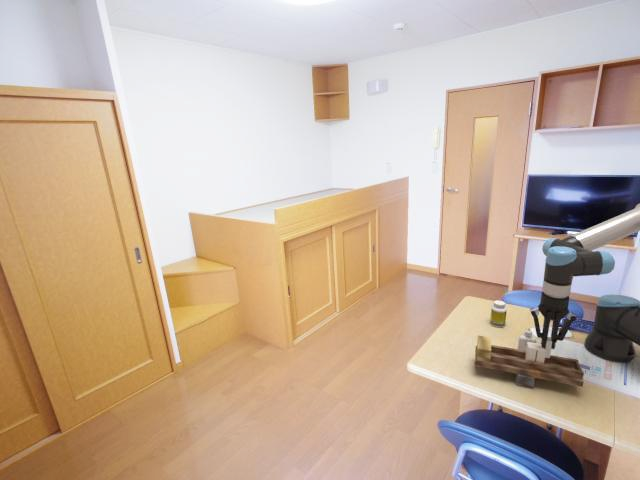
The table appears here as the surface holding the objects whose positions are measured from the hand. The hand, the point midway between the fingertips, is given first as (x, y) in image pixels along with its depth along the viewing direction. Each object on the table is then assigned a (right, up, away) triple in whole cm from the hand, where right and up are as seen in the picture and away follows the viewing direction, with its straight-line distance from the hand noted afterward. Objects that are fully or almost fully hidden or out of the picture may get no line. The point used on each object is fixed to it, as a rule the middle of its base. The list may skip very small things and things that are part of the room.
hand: (546, 355), depth 116 cm
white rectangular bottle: (+3, -6, +17) cm, 18 cm away
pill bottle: (+4, +1, +40) cm, 40 cm away
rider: (-3, -4, +2) cm, 5 cm away
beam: (-5, -9, +5) cm, 12 cm away
